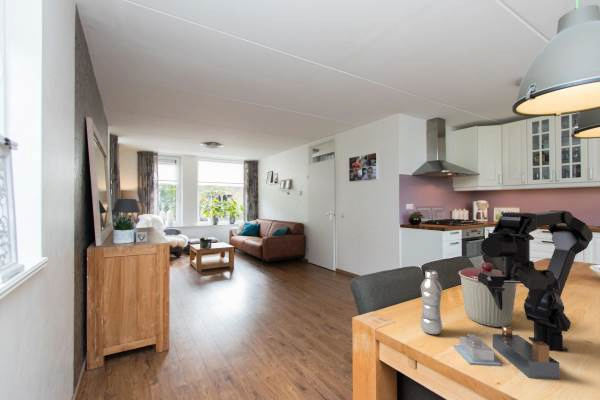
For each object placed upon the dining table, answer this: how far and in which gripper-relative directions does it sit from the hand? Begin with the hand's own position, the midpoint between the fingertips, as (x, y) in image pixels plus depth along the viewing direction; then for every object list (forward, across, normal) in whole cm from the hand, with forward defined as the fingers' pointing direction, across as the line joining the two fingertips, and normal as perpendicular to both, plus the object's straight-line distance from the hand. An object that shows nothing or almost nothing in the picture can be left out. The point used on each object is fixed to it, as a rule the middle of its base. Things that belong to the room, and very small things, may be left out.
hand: (517, 310), depth 78 cm
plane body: (+12, -2, -5) cm, 13 cm away
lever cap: (+12, -13, -3) cm, 18 cm away
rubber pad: (+12, -13, -3) cm, 18 cm away
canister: (+12, +4, +21) cm, 25 cm away
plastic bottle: (+12, -20, +10) cm, 25 cm away
